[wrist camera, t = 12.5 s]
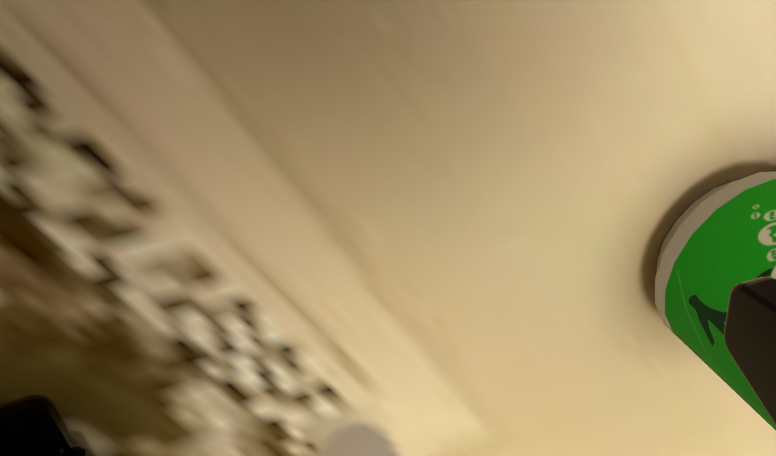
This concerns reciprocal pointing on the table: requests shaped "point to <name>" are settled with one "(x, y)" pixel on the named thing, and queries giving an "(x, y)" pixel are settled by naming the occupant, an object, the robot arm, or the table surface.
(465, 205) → the table surface
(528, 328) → the table surface
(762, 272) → the soda can
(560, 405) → the table surface
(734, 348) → the robot arm
